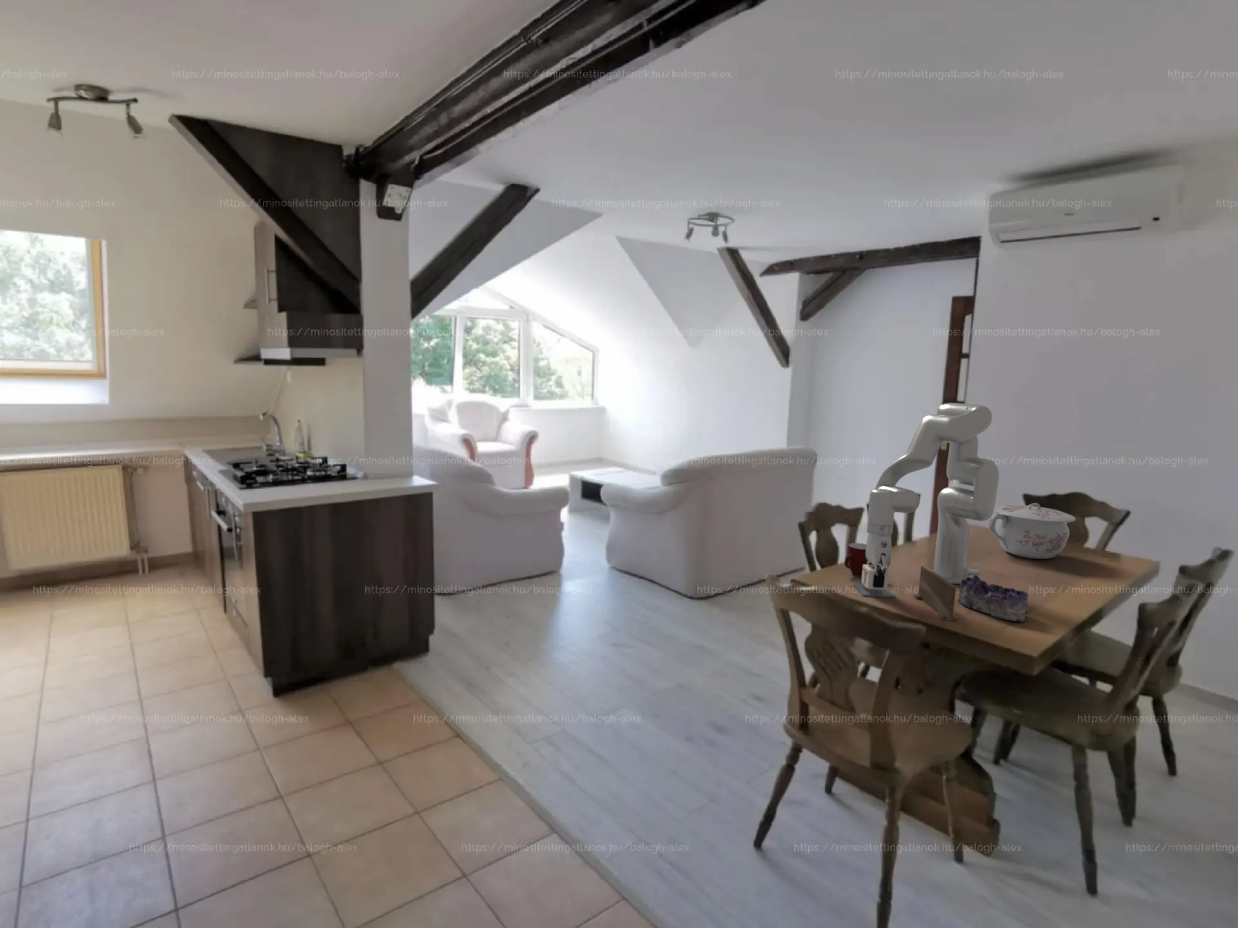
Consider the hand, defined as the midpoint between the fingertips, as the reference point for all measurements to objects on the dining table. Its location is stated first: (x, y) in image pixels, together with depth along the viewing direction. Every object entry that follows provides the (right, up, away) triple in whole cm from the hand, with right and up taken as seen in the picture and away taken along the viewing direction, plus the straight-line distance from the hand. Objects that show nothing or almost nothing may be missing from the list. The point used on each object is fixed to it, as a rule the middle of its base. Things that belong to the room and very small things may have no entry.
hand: (874, 583), depth 213 cm
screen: (+13, -5, -13) cm, 19 cm away
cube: (0, -1, 0) cm, 1 cm away
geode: (+29, -6, -14) cm, 33 cm away
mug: (0, 0, +17) cm, 17 cm away
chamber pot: (+79, +2, +51) cm, 94 cm away
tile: (0, -3, 0) cm, 3 cm away
